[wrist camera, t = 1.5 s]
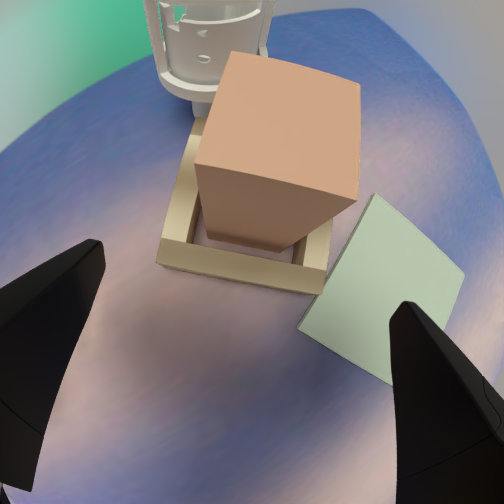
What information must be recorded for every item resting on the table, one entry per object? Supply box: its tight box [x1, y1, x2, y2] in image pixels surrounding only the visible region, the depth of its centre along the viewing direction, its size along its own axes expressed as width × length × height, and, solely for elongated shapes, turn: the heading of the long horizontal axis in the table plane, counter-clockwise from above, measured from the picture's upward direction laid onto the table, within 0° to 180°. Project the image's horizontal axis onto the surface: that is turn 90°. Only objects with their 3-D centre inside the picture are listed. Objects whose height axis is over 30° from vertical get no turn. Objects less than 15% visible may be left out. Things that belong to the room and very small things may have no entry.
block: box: [194, 51, 361, 253], centre depth 14 cm, size 5×5×12 cm
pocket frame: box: [156, 116, 333, 295], centre depth 19 cm, size 10×10×3 cm
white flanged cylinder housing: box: [143, 0, 276, 118], centre depth 14 cm, size 7×7×15 cm
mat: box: [296, 193, 465, 386], centre depth 20 cm, size 12×12×1 cm
